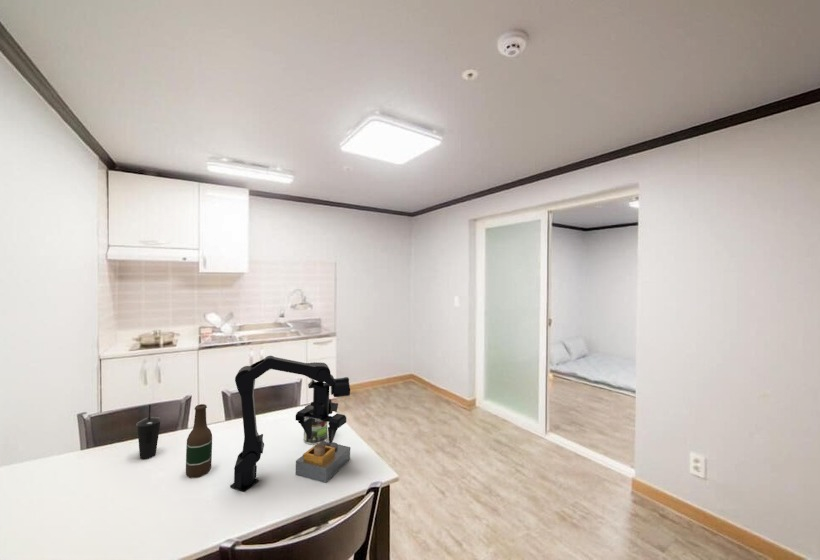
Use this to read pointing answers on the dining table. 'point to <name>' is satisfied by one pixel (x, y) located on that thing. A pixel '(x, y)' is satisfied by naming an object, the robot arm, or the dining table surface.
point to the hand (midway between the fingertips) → (320, 440)
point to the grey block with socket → (323, 462)
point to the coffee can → (316, 430)
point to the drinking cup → (148, 435)
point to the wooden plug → (319, 449)
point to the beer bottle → (199, 445)
